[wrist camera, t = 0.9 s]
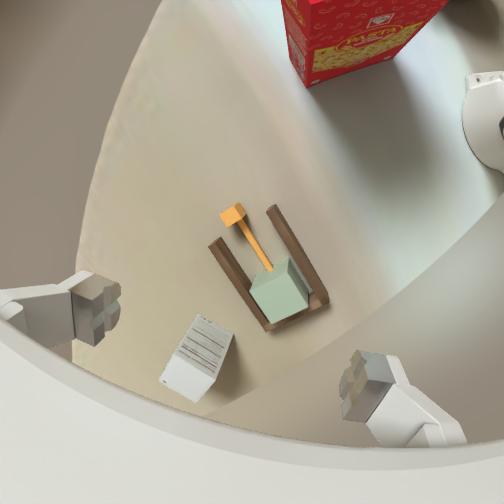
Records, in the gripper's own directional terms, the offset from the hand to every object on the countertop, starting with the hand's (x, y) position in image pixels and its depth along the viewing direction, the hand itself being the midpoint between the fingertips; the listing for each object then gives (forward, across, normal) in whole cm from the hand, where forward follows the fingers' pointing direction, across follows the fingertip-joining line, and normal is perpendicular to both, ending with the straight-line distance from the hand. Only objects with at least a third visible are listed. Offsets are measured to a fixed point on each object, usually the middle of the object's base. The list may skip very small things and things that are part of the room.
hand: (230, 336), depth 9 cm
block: (+35, 0, +8) cm, 36 cm away
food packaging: (+35, -4, -24) cm, 42 cm away
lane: (+35, -1, +10) cm, 37 cm away
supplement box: (+36, +6, +27) cm, 45 cm away
